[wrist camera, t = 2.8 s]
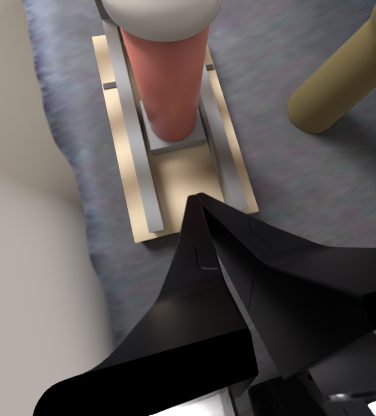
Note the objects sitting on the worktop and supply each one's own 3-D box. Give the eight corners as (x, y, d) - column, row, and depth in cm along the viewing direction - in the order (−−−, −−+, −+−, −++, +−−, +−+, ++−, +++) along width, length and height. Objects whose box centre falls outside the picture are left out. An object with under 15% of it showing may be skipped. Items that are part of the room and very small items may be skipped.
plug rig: (250, 213, 18) (285, 205, 12) (140, 241, 17) (118, 248, 11) (197, 40, 20) (204, -39, 14) (101, 56, 19) (65, -20, 13)
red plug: (204, 144, 16) (246, -4, 6) (153, 156, 16) (100, 18, 5) (191, 98, 17) (208, -109, 6) (141, 108, 16) (75, -95, 6)
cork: (277, 98, 20) (398, -66, 9) (318, 81, 20) (479, -94, 9) (302, 141, 19) (466, 21, 8) (344, 121, 20) (549, -14, 9)
